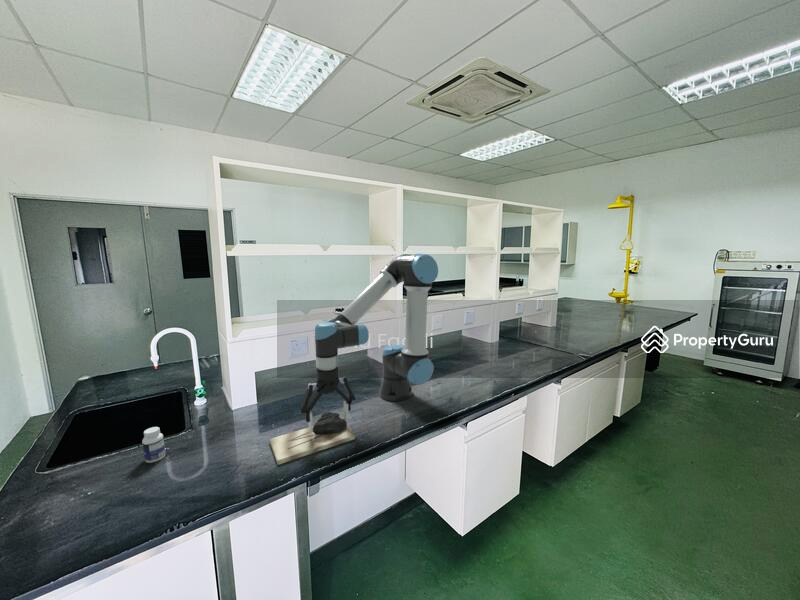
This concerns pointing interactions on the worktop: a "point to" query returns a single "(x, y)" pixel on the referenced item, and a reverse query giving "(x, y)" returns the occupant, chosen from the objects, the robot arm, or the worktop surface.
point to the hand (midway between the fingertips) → (329, 424)
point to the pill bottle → (153, 445)
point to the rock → (329, 424)
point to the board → (305, 443)
